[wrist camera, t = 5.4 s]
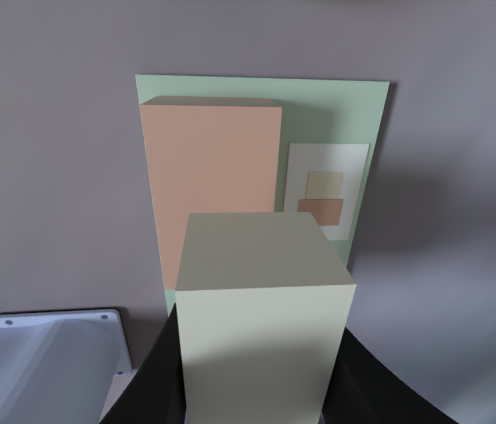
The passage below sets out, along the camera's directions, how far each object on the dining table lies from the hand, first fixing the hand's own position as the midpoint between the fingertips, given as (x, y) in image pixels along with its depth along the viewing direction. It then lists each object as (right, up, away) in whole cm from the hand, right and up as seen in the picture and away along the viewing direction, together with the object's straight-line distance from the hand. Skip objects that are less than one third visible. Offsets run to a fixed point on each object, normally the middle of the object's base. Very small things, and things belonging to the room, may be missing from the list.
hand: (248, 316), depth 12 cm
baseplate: (+1, +1, +10) cm, 10 cm away
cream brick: (0, 0, +1) cm, 1 cm away
